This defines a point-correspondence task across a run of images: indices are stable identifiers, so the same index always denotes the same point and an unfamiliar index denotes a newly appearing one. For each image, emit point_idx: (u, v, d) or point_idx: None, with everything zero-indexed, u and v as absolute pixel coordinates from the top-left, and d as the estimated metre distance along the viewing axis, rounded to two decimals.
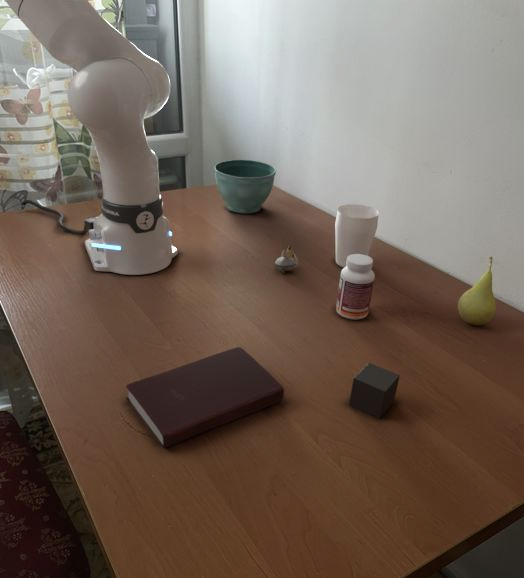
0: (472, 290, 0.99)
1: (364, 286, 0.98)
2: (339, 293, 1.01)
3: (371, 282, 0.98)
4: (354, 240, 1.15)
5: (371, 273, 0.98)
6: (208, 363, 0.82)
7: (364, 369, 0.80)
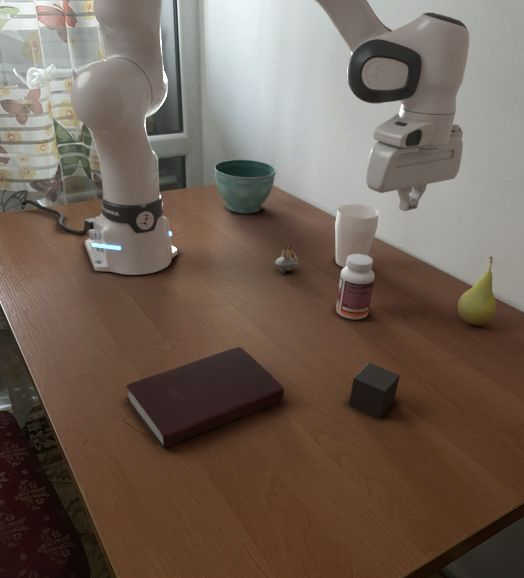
0: (472, 290, 0.99)
1: (364, 286, 0.98)
2: (339, 293, 1.01)
3: (371, 282, 0.98)
4: (354, 240, 1.15)
5: (371, 273, 0.98)
6: (208, 363, 0.82)
7: (364, 369, 0.80)
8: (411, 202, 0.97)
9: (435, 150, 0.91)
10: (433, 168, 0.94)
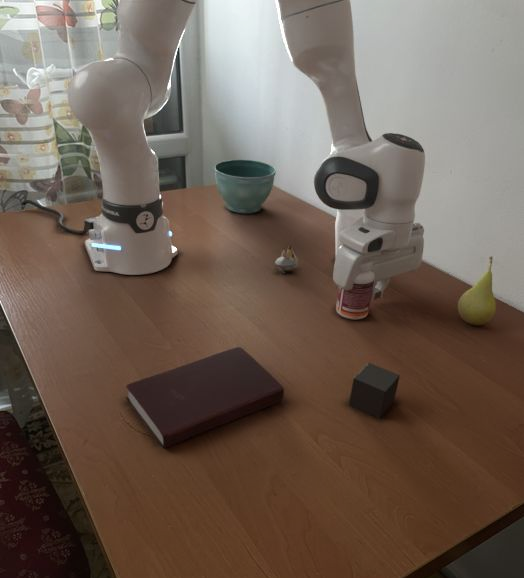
0: (472, 290, 0.99)
1: (364, 286, 0.98)
2: (339, 293, 1.01)
3: (371, 282, 0.98)
4: None
5: (371, 273, 0.98)
6: (208, 363, 0.82)
7: (364, 369, 0.80)
8: (376, 293, 1.05)
9: (396, 251, 0.98)
10: (395, 264, 1.02)
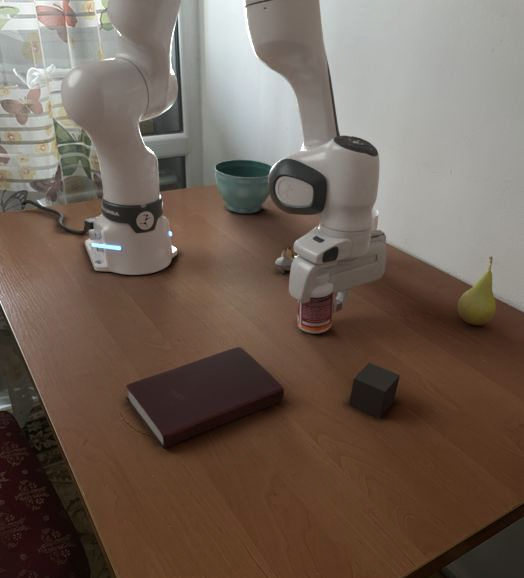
0: (472, 290, 0.99)
1: (322, 299, 0.92)
2: (298, 307, 0.96)
3: (329, 294, 0.93)
4: None
5: (328, 285, 0.93)
6: (208, 363, 0.82)
7: (364, 369, 0.80)
8: (338, 304, 0.99)
9: (355, 260, 0.93)
10: (356, 273, 0.96)
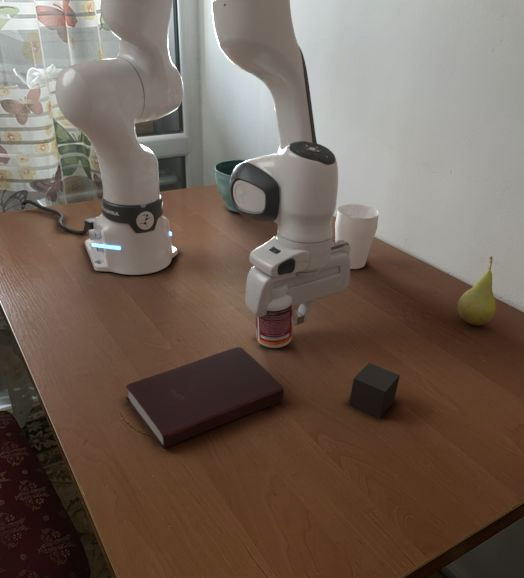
0: (472, 290, 0.99)
1: (279, 312, 0.88)
2: (256, 320, 0.91)
3: (287, 307, 0.88)
4: (354, 240, 1.15)
5: (287, 297, 0.88)
6: (208, 363, 0.82)
7: (364, 369, 0.80)
8: (299, 317, 0.95)
9: (315, 272, 0.88)
10: (317, 285, 0.92)
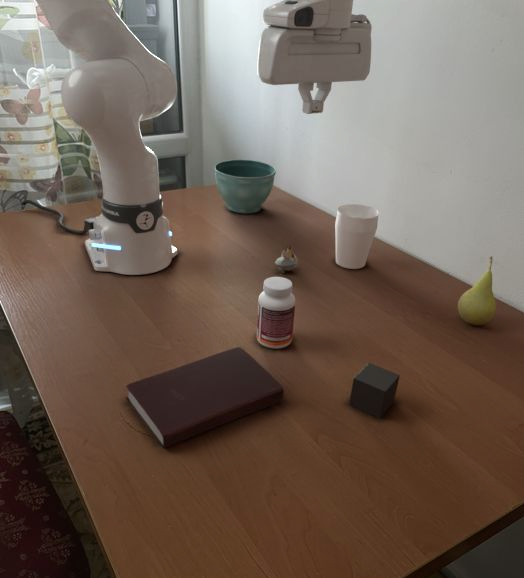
0: (472, 290, 0.99)
1: (282, 313, 0.88)
2: (258, 320, 0.92)
3: (291, 308, 0.89)
4: (354, 240, 1.15)
5: (291, 298, 0.89)
6: (208, 363, 0.82)
7: (364, 369, 0.80)
8: (314, 103, 0.87)
9: (334, 37, 0.81)
10: (336, 62, 0.85)
